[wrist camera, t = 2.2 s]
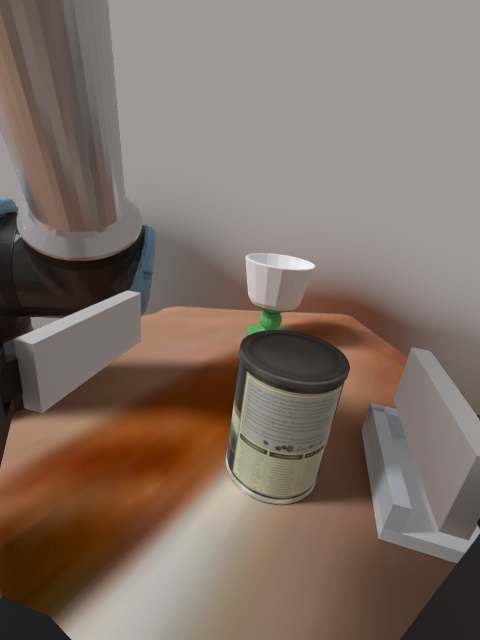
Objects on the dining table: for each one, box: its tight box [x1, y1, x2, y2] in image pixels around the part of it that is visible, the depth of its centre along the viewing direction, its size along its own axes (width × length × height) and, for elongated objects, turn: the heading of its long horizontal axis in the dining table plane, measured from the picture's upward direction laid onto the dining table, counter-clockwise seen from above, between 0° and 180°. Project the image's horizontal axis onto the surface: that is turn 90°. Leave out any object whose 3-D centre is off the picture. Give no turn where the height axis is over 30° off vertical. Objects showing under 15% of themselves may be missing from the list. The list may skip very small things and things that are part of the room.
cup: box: [246, 253, 315, 335], centre depth 65 cm, size 14×14×16 cm
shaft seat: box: [362, 403, 480, 563], centre depth 37 cm, size 24×15×7 cm, turn 166°
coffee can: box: [226, 330, 350, 505], centre depth 33 cm, size 10×10×14 cm
